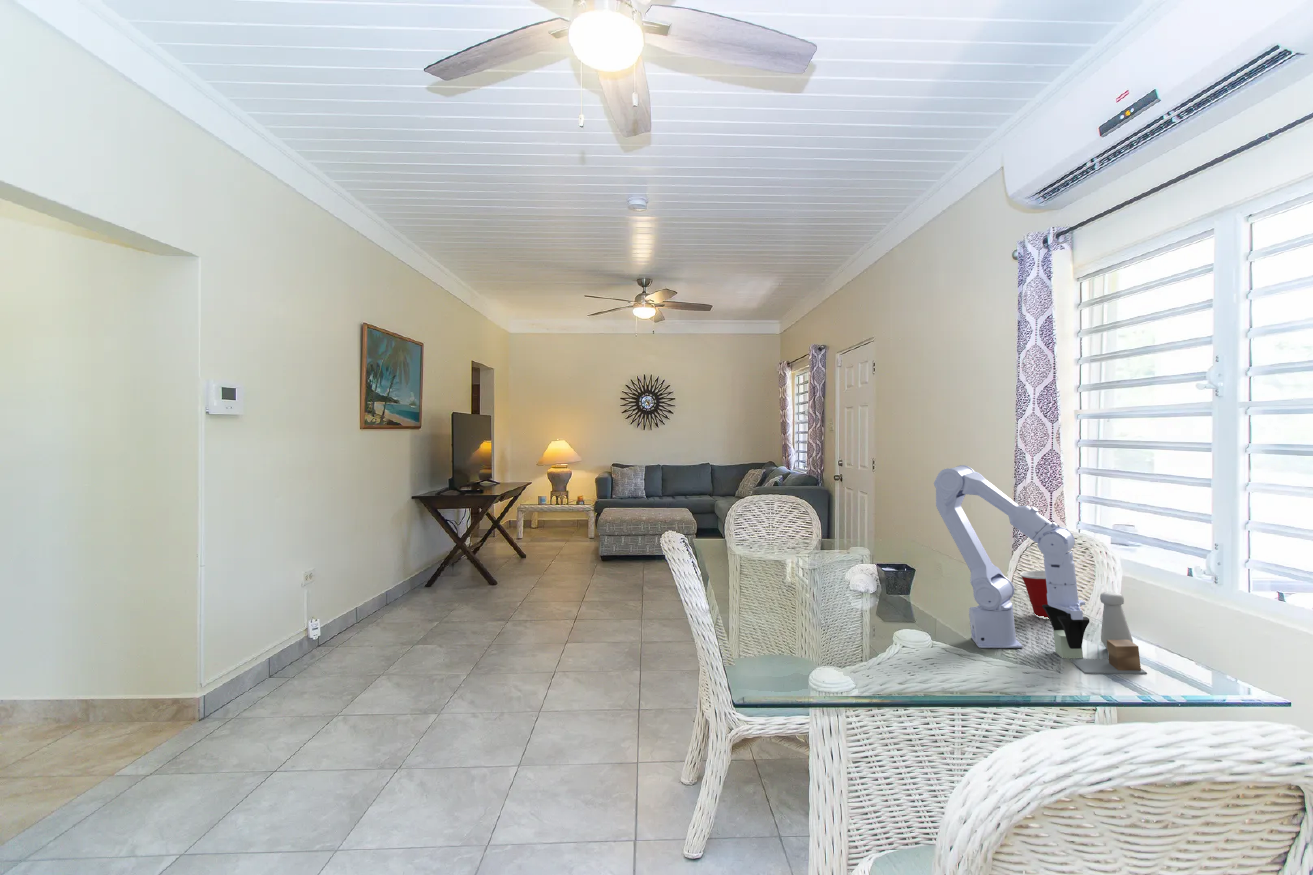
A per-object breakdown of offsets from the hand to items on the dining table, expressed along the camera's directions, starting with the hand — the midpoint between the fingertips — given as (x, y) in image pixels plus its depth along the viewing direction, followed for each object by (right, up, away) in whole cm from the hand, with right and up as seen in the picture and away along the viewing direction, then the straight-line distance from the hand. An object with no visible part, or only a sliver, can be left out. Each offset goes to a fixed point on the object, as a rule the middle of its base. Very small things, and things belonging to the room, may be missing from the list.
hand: (1068, 642), depth 133 cm
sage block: (0, -3, 0) cm, 3 cm away
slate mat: (+3, -3, -8) cm, 9 cm away
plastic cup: (+12, -2, +26) cm, 29 cm away
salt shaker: (+11, -2, 0) cm, 11 cm away
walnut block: (+5, -2, -9) cm, 11 cm away
